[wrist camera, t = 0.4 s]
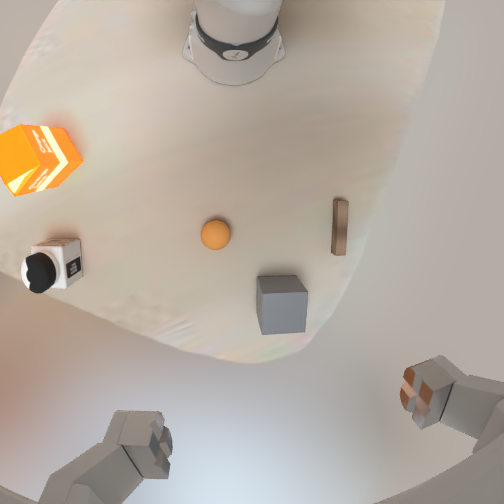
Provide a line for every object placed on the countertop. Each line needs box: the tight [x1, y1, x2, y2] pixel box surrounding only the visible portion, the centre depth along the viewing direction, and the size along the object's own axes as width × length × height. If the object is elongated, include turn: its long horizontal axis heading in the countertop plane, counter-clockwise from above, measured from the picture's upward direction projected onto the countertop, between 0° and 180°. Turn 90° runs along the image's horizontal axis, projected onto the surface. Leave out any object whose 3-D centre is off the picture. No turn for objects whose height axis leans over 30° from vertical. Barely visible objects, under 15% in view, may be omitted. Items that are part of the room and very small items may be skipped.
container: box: [21, 239, 83, 293], centre depth 44 cm, size 8×8×13 cm
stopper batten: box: [331, 200, 348, 256], centre depth 52 cm, size 10×2×2 cm, turn 0°
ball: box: [201, 220, 230, 250], centre depth 50 cm, size 5×5×5 cm
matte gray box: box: [257, 275, 308, 335], centre depth 51 cm, size 7×7×9 cm
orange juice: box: [0, 124, 83, 197], centre depth 36 cm, size 8×9×20 cm
